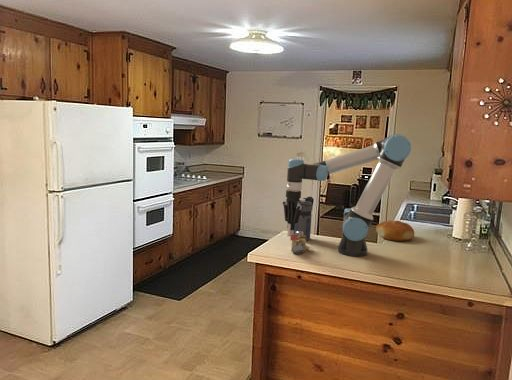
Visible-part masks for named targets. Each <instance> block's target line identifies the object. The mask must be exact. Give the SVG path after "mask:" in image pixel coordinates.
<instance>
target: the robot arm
mask: <svg viewBox="0 0 512 380" xmlns="http://www.w3.org/2000/svg"><path fill="white" fill-rule="evenodd" d="M411 151H412V145H411V142H410V140H409V138H407V137H406V136H405V135H402V134H400V133H399V134H391V135H389V136H387V137H385V138H383V139H381V140H379V141H375V142H374V144H373V145H369V146H366V147H363V148H360V149H357V150H354V151H350V152H347V153H344V154H342V155H338V156H335V157H332V158H328V159H326V160H322V161H319V162H315V163H313V164H308V163H305V161H304V159H302V158H290V159H289V160H288V163H287V175H286V177H287V179H286V190H285V197H286V199H285V201H283V202H282V206H283V212H284V213H283V214H284V221H285V222H287V237H291V235H293V230H294V225H295V224H296V223H298V220H299V216H300V213H301V210H302V208H303V206H301V205H300V202H299V200H301V198H302V197H301V196H302V187H303V186H302V185H303V180H308V181H309V180H310V181H319V182H321V181H324V182H326V181H327V178H328V176H329V175H331V174H335V173H337V172H341V171H344V170H348V169H352V168H354V167H358V166H361V165H365V164H369V163H372V162H374V161H377V160H378V162H377V165H376V166H375V168H374V170H373V172H372V174H371V176H370V178H369V180H368V182H367V184H366V185H365V187H364V189H363V191H362V193H361V195H360V198H359V199H358V200H357V202H356V205H355V206H353V207H351V208H345V209H344V212H343V223H342V228H341V229H342V236H341V239H340V241H339V244H338V247H337V252H338V253H339V254H341V253H342V255H344V256H350V257H365V256H367V255H368V252H369V251H368V246H367V245H368V244H367V241H366V237H367V235H368V233H369V229H370V226H371V225H372V223H373V221H374V216H373V214H374V212H375V210H376V208H377V206H378V204H379V202H380V201H381V198H382V197H383V195H384V193H385V191H386V189H387V187H388V185H389V183H390V181H391V180H392V178H393V176H394V174H395V172H396V170H398V169H400V168H402V166H403V164H404V162H405V160H406V159H407V158H408V156H410V154H411Z"/></svg>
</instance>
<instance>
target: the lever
mask: <svg viewBox="0 0 512 380" xmlns="http://www.w3.org/2000/svg"><path fill="white" fill-rule="evenodd" d="M300 236H303V231H296V233H295V234H293V235H291V236H289V240H290V241H291V242H292V241H297V240H298V239H299V237H300Z"/></svg>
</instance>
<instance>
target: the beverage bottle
mask: <svg viewBox="0 0 512 380" xmlns="http://www.w3.org/2000/svg"><path fill="white" fill-rule="evenodd" d="M299 202H300V205H301V206H303V208H302V210H301V213H300V216H299V220H298V223H296V224H295V225H294V230H293V234H295V233H296V231H303V235H305V236H306V241H308V240H310V238H311V231H312V230H311V229H312V228H311V227H312V216H313V215H312V211H313V205H314V202H315V201H314V198H313V197H312V196H307V197H303V198H302V199H299Z"/></svg>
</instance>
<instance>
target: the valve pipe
mask: <svg viewBox="0 0 512 380" xmlns="http://www.w3.org/2000/svg"><path fill="white" fill-rule="evenodd" d="M306 243H307V240H306V236H305V235H303V236H300V237H299V239H298V240H297V241H292V240H291V250H290V251H291V252H292V254H293V255H303V253H304V252H306V247H307V246H306V245H307V244H306Z"/></svg>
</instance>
